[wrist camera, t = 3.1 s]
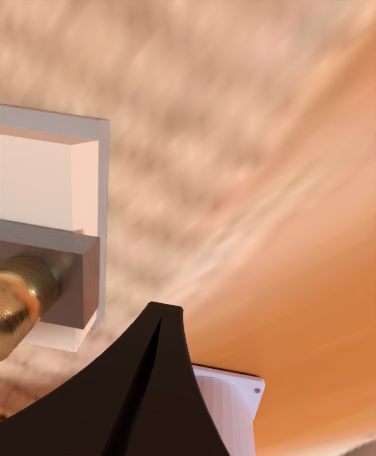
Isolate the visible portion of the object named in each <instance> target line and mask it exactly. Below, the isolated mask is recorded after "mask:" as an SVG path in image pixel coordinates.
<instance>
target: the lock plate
mask: <svg viewBox="0 0 376 456" xmlns="http://www.w3.org/2000/svg"><path fill="white" fill-rule="evenodd" d="M108 156H109V120H105V119H99V118H92V117H86V116H79V115H72V114H66V113H59V112H52V111H46V110H39V109H33V108H26V107H19V106H13V105H6V104H0V220H2V221H8V222H13V223H19V224H25V225H31V226H37V227H43V228H49V229H54V230H60V231H66V232H72V233H78V234H84V235H90V236H95V237H100V278H99V306H98V308H97V310H96V311H95V313H94V314H93V316H92V317H91V319H90V320H89V322H88V324H87V325H86V327H85V328H84V330H83V329H77V328H72V327H67V326H61V325H56V324H51V323H45V322H40V321H39V322H38V323H37V324H36V325H35V326H34V328H33V329H32V330H31V331H30V332H29V333H28V334H27V335H26V337H25V338H24V339H23V340H22V341H21V342H24V343H29V344H35V345H40V346H45V347H50V348H56V349H61V350H66V351H71V352H76V351H77V349H78V348H79V346H80V344H81V343H82V341H83V340H84V338H85V336H86V335H87V333H88V331H89V330H90V329H95V330H96V329H97V328H98V326H99V324H100V322H101V321H102V319H103V317H104V308H105V270H106V232H107V194H108Z"/></svg>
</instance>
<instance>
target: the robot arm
mask: <svg viewBox="0 0 376 456" xmlns="http://www.w3.org/2000/svg"><path fill="white" fill-rule="evenodd" d="M256 388H257V389H256ZM264 388H265V383H264V380H263V379H262V378H259V377H253V376H248V375H243V374H237V373H232V372H227V371H222V370H216V369H211V368H206V367H200V366H195V365H192V363H191V360H190V356H189V352H188V348H187V343H186V338H185V332H184V325H183V308H182V307H180V306H174V305H169V304H163V303H158V302H152V301H151V302H150V303H148V305H147V306H146V307H145V309H144V310H143V311H142V313H141V314H140V315H139V316H138V317H137V319H136V320H135V321H134V322H133V323H132V324H131V325H130V326H129V327H128V329H127V330H126V331H125V332H124V333H123V334H122V335H121V336H120V337H119V338H118V339H117V340H116V341H115V342H114V343H113V344H112V345H111V346H109V347H108V348H107V349H106V350H105V351H104V352H103V353H102V354H101V355H100V356H98V357H97V358H96V359H95V360H94V361H93V362H91V363H90V364H89V365H88V366H86V367H85V368H84V369H83V370H81V371H80V372H79V373H77V374H76V375H75V376H73V377H72V378H70V379H69V380H68V381H66V382H65V383H64V384H62V385H61V386H59V387H58V388H56V389H55V390H53V391H52V392H50V393H49V394H47V395H46V396H44V397H42V398H41V399H39V400H38V401H36V402H34V403H33V404H31V405H30V406H28V407H26V408H25V409H23V410H21V411H20V412H18V413H16V414H15V415H13V416H11V417H9V418H7V419H5V420H3V421H2V422H0V456H256V453H255V444H254V435H253V426H252V423H253V420H254V417H255V414H256V411H257V408H258V405H259V402H260V399H261V397H262V394H263V391H264Z"/></svg>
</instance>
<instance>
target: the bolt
mask: <svg viewBox="0 0 376 456" xmlns="http://www.w3.org/2000/svg"><path fill="white" fill-rule="evenodd" d="M99 278H100V237H95V236H90V235H84V234H78V233H72V232H66V231H60V230H54V229H49V228H43V227H37V226H31V225H25V224H19V223H13V222H8V221H2V220H0V361H2V360H4V359H6V358H7V357H8V356H9V355H10V353H11V352H12V351H13V350H14V349H15V348H16V347H17V346H18V344H19V343H20V342H21V341H22V340H23V339H24V338H25V337H26V335H27V334H28V333H29V332H30V331H31V330H32V329H33V328H34V326H35V325H36V324H37V323H38V322H39V321H40V322H45V323H51V324H56V325H61V326H67V327H72V328H77V329H83V330H84V328H85V327H86V325H87V324H88V322H89V320H90V319H91V317H92V316H93V314H94V313H95V311H96V310H97V308H98V306H99Z"/></svg>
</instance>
